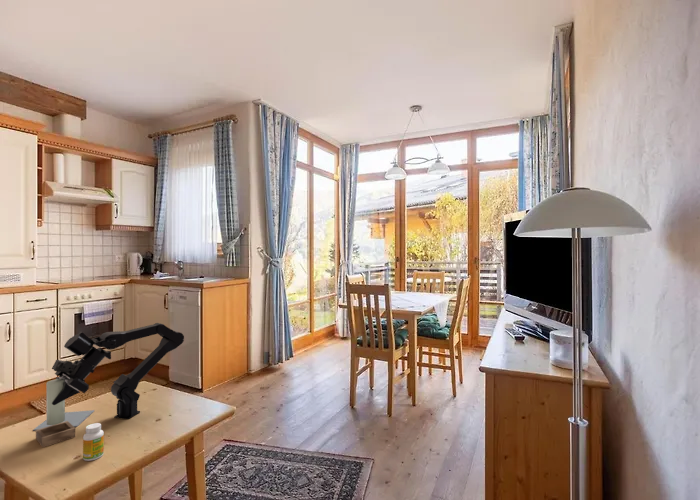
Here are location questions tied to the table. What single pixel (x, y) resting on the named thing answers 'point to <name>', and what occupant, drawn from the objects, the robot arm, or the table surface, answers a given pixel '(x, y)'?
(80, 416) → the mat
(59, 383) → the green bottle
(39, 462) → the table surface
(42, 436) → the brown square open box
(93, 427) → the supplement bottle
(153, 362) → the robot arm
